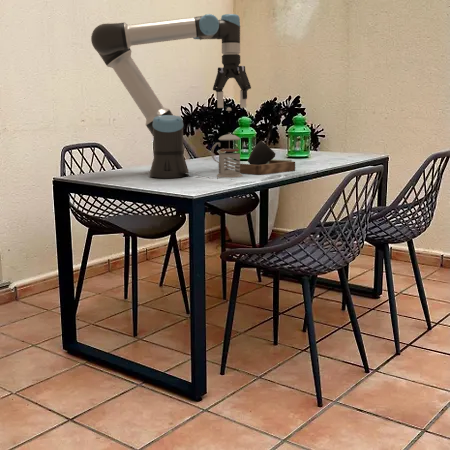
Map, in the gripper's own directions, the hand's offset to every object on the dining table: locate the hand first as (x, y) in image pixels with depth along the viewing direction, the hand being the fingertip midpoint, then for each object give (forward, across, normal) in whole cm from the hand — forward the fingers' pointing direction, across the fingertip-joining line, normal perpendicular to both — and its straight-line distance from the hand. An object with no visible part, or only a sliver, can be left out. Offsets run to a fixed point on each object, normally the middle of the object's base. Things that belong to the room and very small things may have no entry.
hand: (231, 107), depth 262 cm
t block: (+25, -12, -17) cm, 33 cm away
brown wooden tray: (+25, -21, +2) cm, 32 cm away
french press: (+25, -21, +22) cm, 39 cm away
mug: (+24, -12, -1) cm, 26 cm away
